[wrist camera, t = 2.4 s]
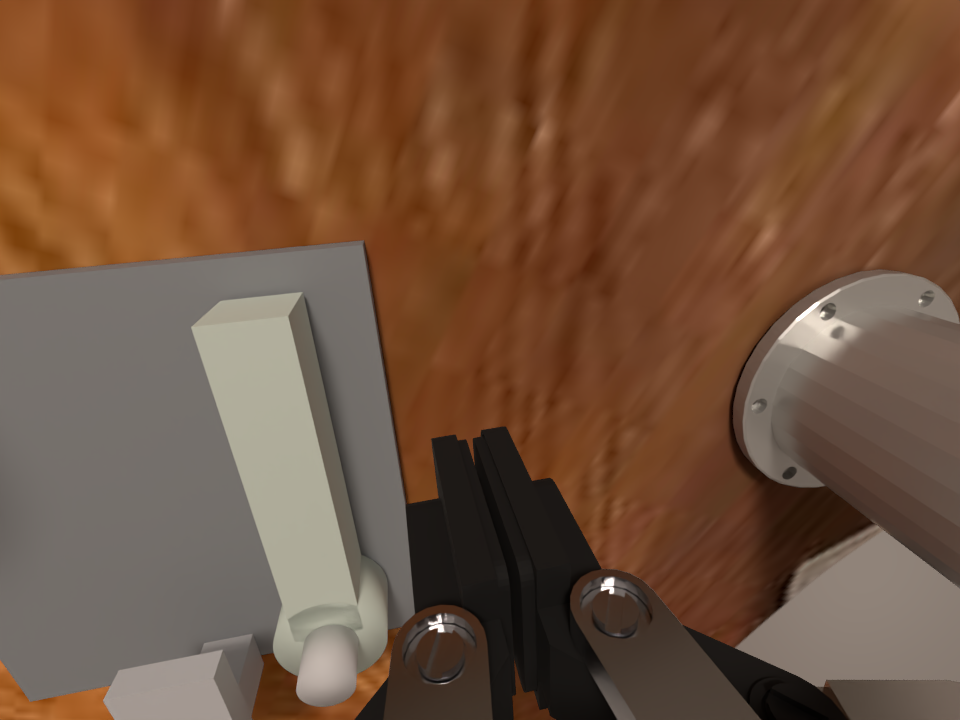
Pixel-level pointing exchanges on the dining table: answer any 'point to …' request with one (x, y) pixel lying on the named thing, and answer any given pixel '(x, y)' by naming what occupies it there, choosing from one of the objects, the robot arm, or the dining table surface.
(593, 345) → the dining table surface
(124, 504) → the board
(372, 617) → the link
